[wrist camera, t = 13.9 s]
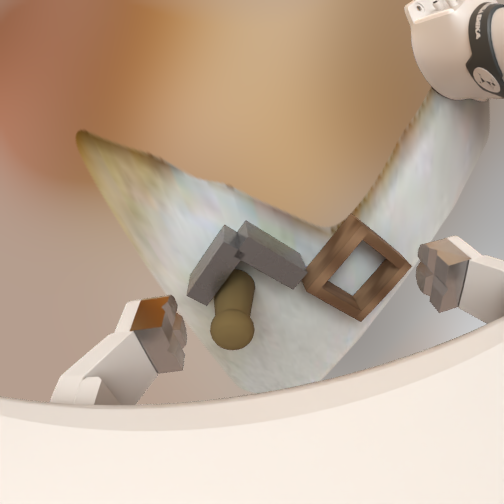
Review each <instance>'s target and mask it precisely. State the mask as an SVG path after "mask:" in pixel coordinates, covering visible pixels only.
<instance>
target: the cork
mask: <svg viewBox="0 0 504 504" xmlns="http://www.w3.org/2000/svg"><path fill="white" fill-rule="evenodd" d="M254 289H255V285H254V281H253V279H252V278H251V276H250V275H248V274H247V273H246V272H244V271H241V270H237V269H234V270H233V271H232V273H231V274H230V275H229V277H228V278H227V279H226V281H225V282H224V283H223V285H222V286H221V287H220V289H219V290H218V291H217V293H216V294H215V295H214V305H215V315H216V316H215V317H214V319H213V321H212V323H211V330H210V332H211V335H212V339H213V340H214V341H215V342H216V344H217V345H219V346H220V347H222V348H224V349H227V350H238V349H241V348H244V347H245V346H246V345H248V344H249V343H250V341H251V340H252V338H253V335H254V325H253V322H252V320H251V318H250V313H251V307H252V301H253V295H254Z"/></svg>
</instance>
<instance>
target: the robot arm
mask: <svg viewBox="0 0 504 504" xmlns="http://www.w3.org/2000/svg"><path fill="white" fill-rule="evenodd" d="M417 8H418V9H419V10H417ZM404 10H405V14H406V17H407V20H408V22H409V24H410V27H411V42H412V49H413V53H414V57H415V60H416V62H417V65H418V67H419V69H420V71H421V73H422V74H423V76H424V77H425V79H426V80H427V82H428V83H429V84H430V85H431V86H432V87H433V88H434V89H435V90H436V91H437V92H438V93H440V94H441V95H443V96H445V97H447V98H449V99H453V100H463V99H469V98H472V99H474V100H477V101H486V100H487V99H488V98H494V99H504V5H502V4H498V2H497V1H496V0H413V1H412V2H410V3H409V4H407V5H406V6H405V8H404ZM418 257H419V259H420V260H421V262H420V263H419V265H418V266H417V269H416V279H417V284H418V286H419V288H420V290H421V291H422V292H423V293H424V294H426V295H429V296H430V302H431V303H432V305H433V306H434V307H435V308H436V309H437V311H438V312H439V313H440V312H443V311H447V310H450V309H452V308H456V307H459V308H460V309H462V310H464V311H465V312H467V313H469V314H471V315H473V316H474V317H476V318H478V319H480V320H481V321H483V322H485V323H487V324H486V325H484V326H482V327H480V328H478V329H476V330H473V331H471V332H469V333H466V334H464V335H462V336H459V337H457V338H454V339H452V340H449V341H447V342H444V343H442V344H439V345H437V346H434V347H432V348H429V349H426V350H424V351H421V352H418V353H415V354H412V355H409V356H406V357H403V358H400V359H397V360H394V361H391V362H388V363H385V364H382V365H378V366H375V367H371V368H368V369H365V370H361V371H358V372H354V373H350V374H347V375H343V376H339V377H335V378H331V379H327V380H323V381H318V382H314V383H309V384H305V385H300V386H295V387H290V388H285V389H280V390H275V391H269V392H263V393H257V394H251V395H244V396H237V397H230V398H222V399H213V400H205V401H194V402H182V403H169V404H168V403H167V404H147V405H136V403H137V402H138V400H139V399H140V398H141V396H142V395H143V394H144V393H145V391H146V390H147V389H148V387H149V386H150V385H151V384H152V382H153V381H154V380H155V378H156V377H157V376H158V373H167V372H174V371H182V370H183V366H184V358H185V354H184V352H183V350H182V349H183V348H184V346H185V345H186V342H187V334H186V327H185V323H184V320H183V318H182V316H181V315H179V314H178V313H176V311H177V306H178V305H177V303H176V301H175V298H174V297H173V296H172V295H167V296H160V297H153V298H147V299H139V300H134V301H129V302H127V304H126V306H125V308H124V311H123V313H122V316H121V318H120V320H119V323H118V325H117V327H116V330H115V333H114V334H109V335H108V336H107V337H106V338H105V339H103V340H102V341H101V342H100V343H99V344H98V345H97V346H95V347H94V348H93V349H92V350H91V351H89V352H88V353H87V354H86V355H85V356H83V357H82V358H81V359H80V360H79V361H78V362H76V363H75V364H74V365H73V366H72V367H71V368H69V369H68V370H67V371H66V372H65V373H64V374H62V375H61V377H60V379H59V381H58V383H57V386H56V388H55V390H54V393H53V395H52V398H51V400H50V402H41V401H32V400H23V399H16V398H9V397H2V396H0V504H504V260H500V259H497V258H494V257H491V256H487V255H484V256H482V255H481V254H480V253H479V252H477V251H476V250H475V249H474V248H472V247H471V246H470V245H468V244H467V243H466V242H465V241H463V240H462V239H460V238H459V237H458V236H451V237H447V238H444V239H441V240H437V241H433V242H429V243H426V244H422V245H420V247H419V250H418Z"/></svg>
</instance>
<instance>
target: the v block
mask: <svg viewBox="0 0 504 504" xmlns="http://www.w3.org/2000/svg"><path fill="white" fill-rule="evenodd" d="M240 261H243V262H245V263H247V264H248V265H250V266H252V267H254V268H255V269H257V270H259V271H261V272H263V273H264V274H266V275H268V276H270V277H272V278H273V279H275V280H277V281H279V282H281V283H282V284H284V285H286V286H288V287H290V288H291V289H294V288H295V287H296V286H297V284H298V283H299V282H300V281H301V280H302V279H303V278H304V276H305V275H306V274H307V273H308V271H307V269H306V267H305V265H304V262H303V260H302V258H301V255H300V253H298V252H296V251H295V250H293V249H292V248H290V247H288V246H287V245H285V244H284V243H282V242H280V241H279V240H277V239H275V238H274V237H272V236H271V235H269V234H267V233H266V232H264V231H262V230H261V229H259V228H258V227H256V226H254V225H253V224H251V223H249V222H248V221H245V222H244V223H243V225H242V226H241V228H240V229H239V230H238V232H236V231H234V230H233V229H231V228H229V227H227V226H226V225H224V226H223V227H222V229H221V230H220V232H219V233H218V235H217V236H216V237H215V239H214V240H213V242H212V243H211V245H210V246H209V248H208V249H207V251H206V252H205V254H204V255H203V257H202V258H201V260H200V261H199V263H198V264H197V266H196V267H195V269H194V270H193V272H192V273H191V275H190V279H189V285H188V290H187V296H188V297H190V298H192V299H194V300H196V301H198V302H200V303H202V304H204V305H206V306H207V305H208V304H209V302H210V301H211V300H212V298H213V297H214V295H215V294H216V293H217V291H218V290H219V289H220V287H221V286H222V285H223V283H224V282H225V281H226V279H227V278H228V277H229V275H230V274H231V273H232V271H233V270H234V269H235V267H236V266H237V265H238V263H239V262H240Z"/></svg>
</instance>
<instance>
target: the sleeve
mask: <svg viewBox="0 0 504 504" xmlns="http://www.w3.org/2000/svg"><path fill="white" fill-rule="evenodd" d="M362 240H363V241H365V242H366V243H367V244H369V245H370V246H371V247H372V248H374V249H375V250H376V251H378V252H379V253H380V254H381V255H383V256H384V257H385V258H386V259H385V260H384V262H383V263H382V264H381V265H380V266H379V267H378V269H377V270H376V271H375V272H374V273H373V274H372V275H371V277H370V278H369V279H368V280H367V281H366V282H365V283H364V284H363V285H362V287H361V288H360V289H359V290H358V291H357V292H356V293H355V294H354V295H353V296H352V295H350V294H349V293H347V292H345V291H344V290H342V289H340V288H339V287H337V286H336V285H334V284H332V283H331V282H329V281H328V280H329V278H330V277H331V276H332V275H333V274H334V273H335V272H336V270H337V269H338V268H339V267H340V266H341V265H342V263H343V262H344V261H345V260H346V259H347V258H348V256H349V255H350V254H351V253H352V252H353V250H354V249H355V248H356V247H357V246H358V244H359V243H360V242H361V241H362ZM411 267H412V266H411V265H410V264H409V263H408V262H407V261H406V259H405V258H404V257H403V256H402V255H401V254H400V253H399V252H398V251H396V250H395V249H394V248H393V247H392V246H391V245H389V244H388V243H387V242H386V241H385V240H383V239H382V238H381V237H380V236H379V235H377V234H376V233H375V232H374V231H373V230H371V229H370V228H369V227H368V226H366V225H365V224H364V223H363V222H361V221H360V220H359V219H358V218H356V217H355V216H354V215H353V214H350V215H349V216H348V218H347V219H346V220H345V221H344V223H343V224H342V225H341V226H340V228H339V229H338V230H337V231H336V232H335V234H334V235H333V236H332V237H331V239H330V240H329V241H328V242H327V244H326V245H325V246H324V247H323V248H322V250H321V251H320V252H319V253H318V254H317V256H316V257H315V258H314V259H313V260H312V262H311V263H310V264H309V265H308V266H307V268H306V269H307V271H308V273H307V274H306V275H305V276H304V278H303V279H302V282H303V285H304V287H305V290H306V291H307V292H308V293H310V294H312V295H314V296H316V297H317V298H319V299H321V300H323V301H324V302H326V303H328V304H330V305H332V306H333V307H335V308H337V309H339V310H340V311H342V312H344V313H346V314H348V315H349V316H351V317H353V318H355V319H357V320H358V321H360V322H361V321H362V320H363V319H364V318H365V317H366V316H367V315H368V314H369V313H370V312H371V311H372V310H373V309H374V308H375V307H376V306H377V305H378V304H379V303H380V301H381V300H382V299H383V298H384V297H385V296H386V295H387V294H388V293H389V292H390V291H391V290H392V288H393V287H394V286H395V285H396V284H397V283H398V282H399V281H400V279H401V278H402V277H403V276H404V275H405V274H406V273H407V271H408V270H409V269H410V268H411Z"/></svg>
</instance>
